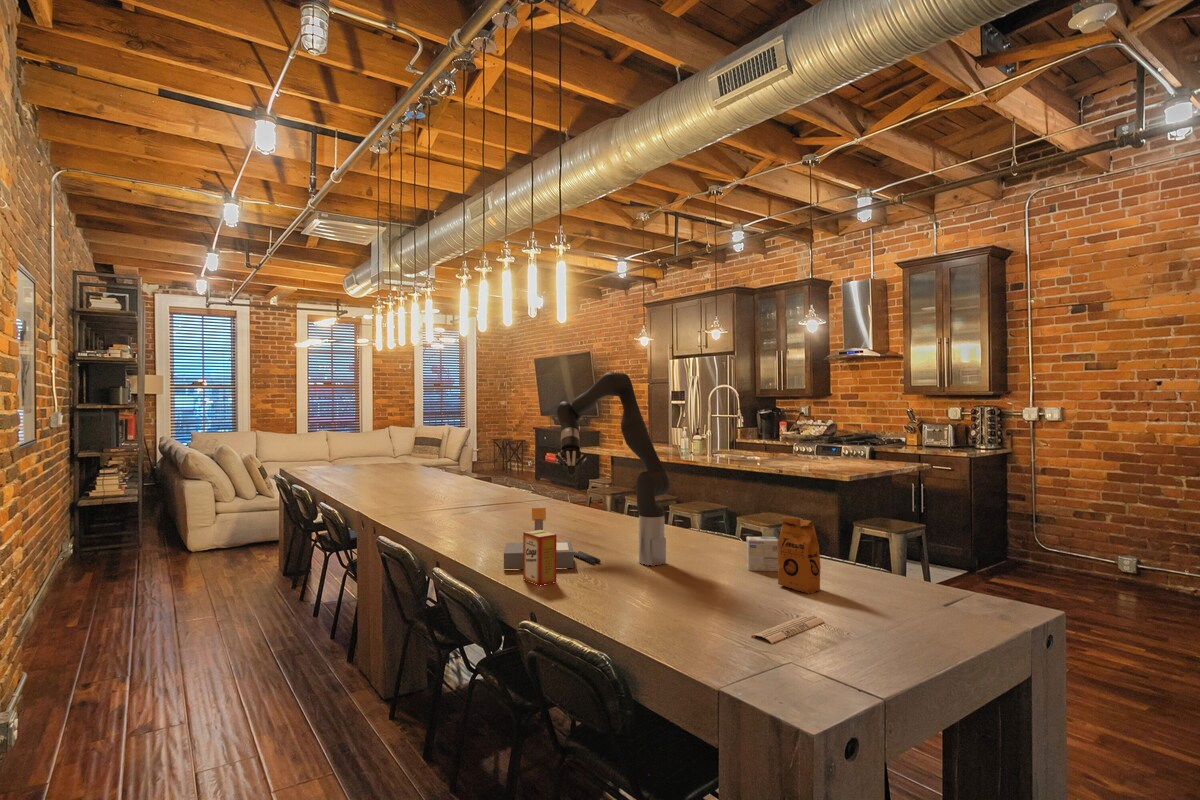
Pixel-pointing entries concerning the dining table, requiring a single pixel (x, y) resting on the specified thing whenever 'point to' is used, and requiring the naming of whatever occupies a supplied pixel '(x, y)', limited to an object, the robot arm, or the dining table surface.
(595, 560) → the dark grey ridged bar
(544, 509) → the breaker lever
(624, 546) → the dining table surface
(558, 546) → the breaker block
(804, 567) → the coffee package
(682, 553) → the dining table surface
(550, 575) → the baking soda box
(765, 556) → the light bulb box
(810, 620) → the newspaper
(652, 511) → the robot arm
